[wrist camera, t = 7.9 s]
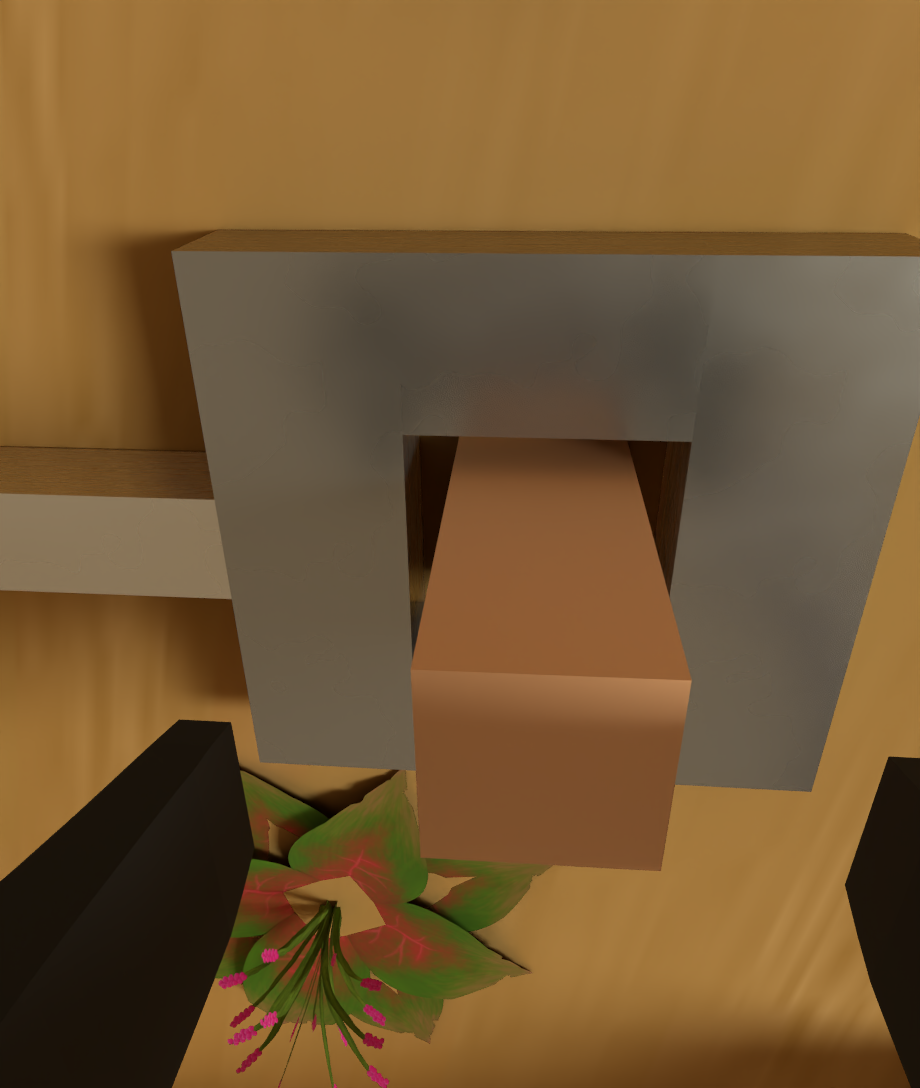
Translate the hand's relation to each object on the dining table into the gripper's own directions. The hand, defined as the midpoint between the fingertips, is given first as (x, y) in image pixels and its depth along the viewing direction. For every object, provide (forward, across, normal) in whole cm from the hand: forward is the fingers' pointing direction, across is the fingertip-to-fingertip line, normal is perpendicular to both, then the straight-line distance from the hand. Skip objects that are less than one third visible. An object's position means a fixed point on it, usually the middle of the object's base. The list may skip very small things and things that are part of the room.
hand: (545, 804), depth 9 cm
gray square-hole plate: (+7, +3, 0) cm, 8 cm away
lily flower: (+8, +5, +12) cm, 16 cm away
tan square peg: (+7, 0, 0) cm, 7 cm away
